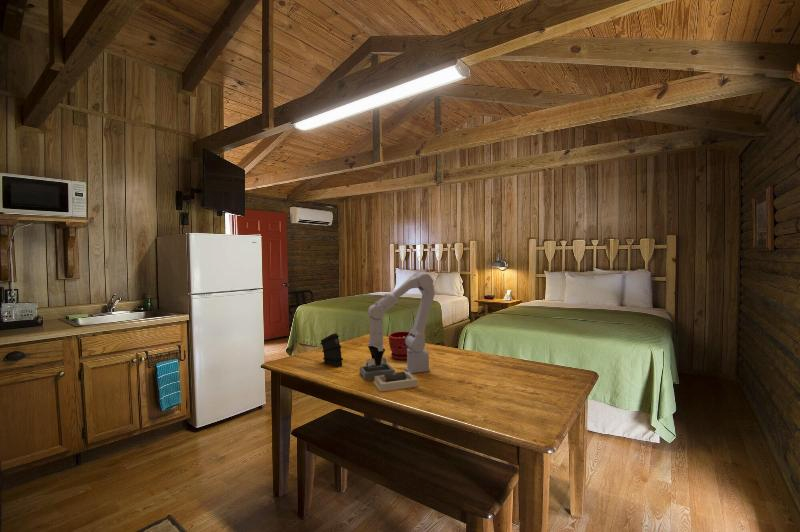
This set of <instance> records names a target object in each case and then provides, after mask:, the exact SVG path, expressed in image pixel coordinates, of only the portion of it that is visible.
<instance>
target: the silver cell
mask: <svg viewBox="0 0 800 532" xmlns="http://www.w3.org/2000/svg"><path fill="white" fill-rule="evenodd" d="M386 364H387V358H386V357H385V356H382V361H381V365H376V364H375V359H374V358H372V357H371V358H367V359H366V361H365V366H367V368H375V367H384V366H386Z"/></svg>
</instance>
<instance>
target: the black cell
mask: <svg viewBox="0 0 800 532" xmlns="http://www.w3.org/2000/svg"><path fill="white" fill-rule="evenodd" d="M405 372H406V371H399V372H398V371H397V372H395V373H390V374H385V375H384V381H385V382H392V381H400V380H406V374H405Z"/></svg>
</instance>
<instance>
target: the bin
mask: <svg viewBox="0 0 800 532" xmlns="http://www.w3.org/2000/svg"><path fill="white" fill-rule="evenodd" d="M390 373H396V372H395V369H394V368H393V367H392V366H391V365H390V364H389V363H387V364H386V366H384V367H375V368H367V366H366V365H362V366H359V375H360V376H361V375H362V376H361V378H362V379H363V380H364V381H365V380H367V381H374V376H380V375H385V374H390Z"/></svg>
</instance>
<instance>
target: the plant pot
mask: <svg viewBox="0 0 800 532" xmlns="http://www.w3.org/2000/svg"><path fill="white" fill-rule="evenodd" d="M409 332H410V331H395V332H391V333H389V334H388V345H389V349H390V351H391V357H392V358H393V359H394V360H395V359H396V360H399V359H400V360H401V361H402V360H403V361H404V359H405V360H407V348H408V346H407V345H406V343H405V339H406V337H407V336H408V335H409Z"/></svg>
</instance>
